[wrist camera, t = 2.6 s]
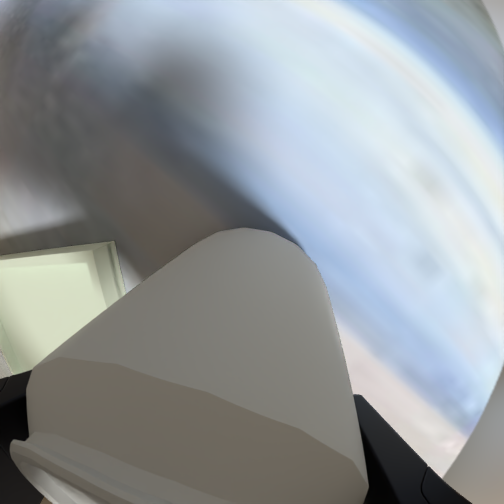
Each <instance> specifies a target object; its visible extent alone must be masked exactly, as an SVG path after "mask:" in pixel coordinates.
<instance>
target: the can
mask: <svg viewBox="0 0 504 504" xmlns="http://www.w3.org/2000/svg"><path fill="white" fill-rule="evenodd" d="M26 399H27V417H28V429H29V438H28V439H27V440H26V441H19V440H13V441H12V442H11V444H10V455H11V458H12V460H13V461H14V463H15V464H16V466H17V467H18V469H19V470H20V472H21V473H22V474H23V475H24V476H25V477H26V478H27V479H28V481H29V482H30V483H31V484H32V485H33V486H34V487H35V488H36V489H37V490H38V491H39V492H40V493H41V494H43V495H44V496H45V497H46V498H47V499H48V500H49V501H51V502H52V503H53V504H363V503H364V500H365V497H366V494H367V491H368V488H369V484H368V477H367V470H366V464H365V457H364V451H363V445H362V439H361V434H360V428H359V423H358V417H357V412H356V407H355V402H354V397H353V392H352V388H351V383H350V379H349V374H348V370H347V365H346V361H345V357H344V352H343V348H342V344H341V340H340V336H339V332H338V328H337V324H336V320H335V316H334V313H333V309H332V305H331V302H330V298H329V294H328V291H327V287H326V285H325V283H324V281H323V278H322V276H321V274H320V272H319V270H318V268H317V266H316V264H315V263H314V262H313V261H312V260H311V259H310V258H309V257H308V256H307V255H306V254H305V253H304V252H303V251H302V250H301V248H300V247H299V246H298V245H296V244H294V243H293V242H291V241H289V240H287V239H285V238H283V237H281V236H279V235H277V234H275V233H273V232H269V231H263V230H257V229H251V228H245V227H244V228H237V229H231V230H225V231H219V232H216V233H214V234H212V235H210V236H209V237H207V238H205V239H203V240H201V241H199V242H197V243H196V244H194V245H193V246H191V247H190V248H189V249H187V250H186V251H184V252H183V253H181V254H180V255H179V256H177V257H176V258H174V259H173V260H172V261H170V262H169V263H167V264H166V265H165V266H163V267H162V268H161V269H159V270H158V271H156V272H155V273H154V274H152V275H151V276H150V277H148V278H147V279H146V280H144V281H143V282H141V283H140V284H139V285H137V286H136V287H135V288H133V289H132V290H131V291H129V292H128V293H127V294H125V295H124V296H123V297H121V298H120V299H119V300H117V301H116V302H115V303H113V304H112V305H111V306H110V307H108V308H107V309H106V310H104V311H103V312H102V313H100V314H99V315H98V316H97V317H95V318H94V319H93V320H91V321H90V322H89V323H88V324H86V325H85V326H84V327H82V328H81V329H80V330H79V331H77V332H76V333H75V334H74V335H72V336H71V337H70V338H69V339H67V340H66V341H65V342H64V343H62V344H61V345H60V346H59V347H58V348H56V349H55V350H54V351H53V352H51V353H50V354H49V355H48V356H47V357H45V358H44V359H43V360H42V361H41V362H39V363H38V364H37V365H36V366H35V367H33V370H32V373H31V376H30V379H29V382H28V385H27V388H26Z"/></svg>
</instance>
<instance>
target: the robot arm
mask: <svg viewBox="0 0 504 504" xmlns="http://www.w3.org/2000/svg"><path fill="white" fill-rule="evenodd" d="M32 370H33V369H32ZM32 370H29V371H26V372H22V373H19V374H15V375H12V376H10V377H5V378H2V379H0V504H40V503H41V501H42V499H43V497H44V495H43V494H41V493H40V492H39V491H38V490H37V489H36V488H35V487H34V486H33V485H32V484H31V483H30V482H29V481H28V479H27V478H26V477H25V476H24V475H23V474H22V473H21V472H20V470H19V469H18V467H17V466H16V464H15V463H14V461H13V460H12V458H11V455H10V444H11V442H12V441H13V440H19V441H26V440H27V439H28V438H29V429H28V417H27V399H26V388H27V385H28V382H29V379H30V376H31V373H32ZM353 397H354V402H355V407H356V412H357V417H358V423H359V428H360V434H361V439H362V445H363V451H364V457H365V464H366V470H367V477H368V484H369V488H368V491H367V494H366V497H365V500H364V503H363V504H472V503H471V502H469V501H468V500H467V499H465V498H464V497H463V496H462V495H460V494H459V493H458V492H456V491H455V490H454V489H453V488H452V487H450V486H449V485H448V484H447V483H446V482H444V480H443V479H442V478H441V477H439V476H438V475H437V474H436V473H435V472H434V471H433V470H432V469H431V468H430V467H429V466H428V465H427V464H426V463H425V462H424V460H423V459H422V458H421V457H420V456H419V455H418V454H417V453H416V452H415V451H414V450H413V449H412V448H411V447H410V446H409V445H408V444H407V443H406V442H405V441H404V440H403V439H402V438H401V437H400V436H399V434H398V433H397V432H396V431H395V430H394V429H393V428H392V427H391V426H390V425H389V424H388V423H387V422H386V421H385V420H384V419H383V418H382V417H381V415H380V414H379V413H378V412H377V411H376V410H375V409H374V408H373V407H372V406H371V405H370V404H369V403H368V402H367V401H366V400H365V398H364V397H363V396H362V395H359V394H353ZM427 466H428V467H427Z"/></svg>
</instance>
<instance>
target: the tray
mask: <svg viewBox="0 0 504 504" xmlns="http://www.w3.org/2000/svg"><path fill="white" fill-rule="evenodd" d="M125 294H126V291H125V287H124V283H123V278H122V274H121V270H120V265H119V260H118V255H117V250H116V245H115V241H110V242H101V243H93V244H84V245H76V246H68V247H60V248H52V249H44V250H37V251H29V252H22V253H15V254H8V255H1V256H0V349H1V352H2V354H3V356H4V358H5V360H6V362H7V364H8V366H9V368H10V370H11V372H12V374H13V375H15V374H19V373H22V372H26V371H29V370H32V369H33V367H35V366H36V365H37V364H38V363H39V362H41V361H42V360H43V359H44V358H45V357H47V356H48V355H49V354H50V353H51V352H53V351H54V350H55V349H56V348H58V347H59V346H60V345H61V344H62V343H64V342H65V341H66V340H67V339H69V338H70V337H71V336H72V335H74V334H75V333H76V332H77V331H79V330H80V329H81V328H82V327H84V326H85V325H86V324H88V323H89V322H90V321H91V320H93V319H94V318H95V317H97V316H98V315H99V314H100V313H102V312H103V311H104V310H106V309H107V308H108V307H110V306H111V305H112V304H113V303H115V302H116V301H117V300H119V299H120V298H121V297H123V296H124V295H125Z"/></svg>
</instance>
